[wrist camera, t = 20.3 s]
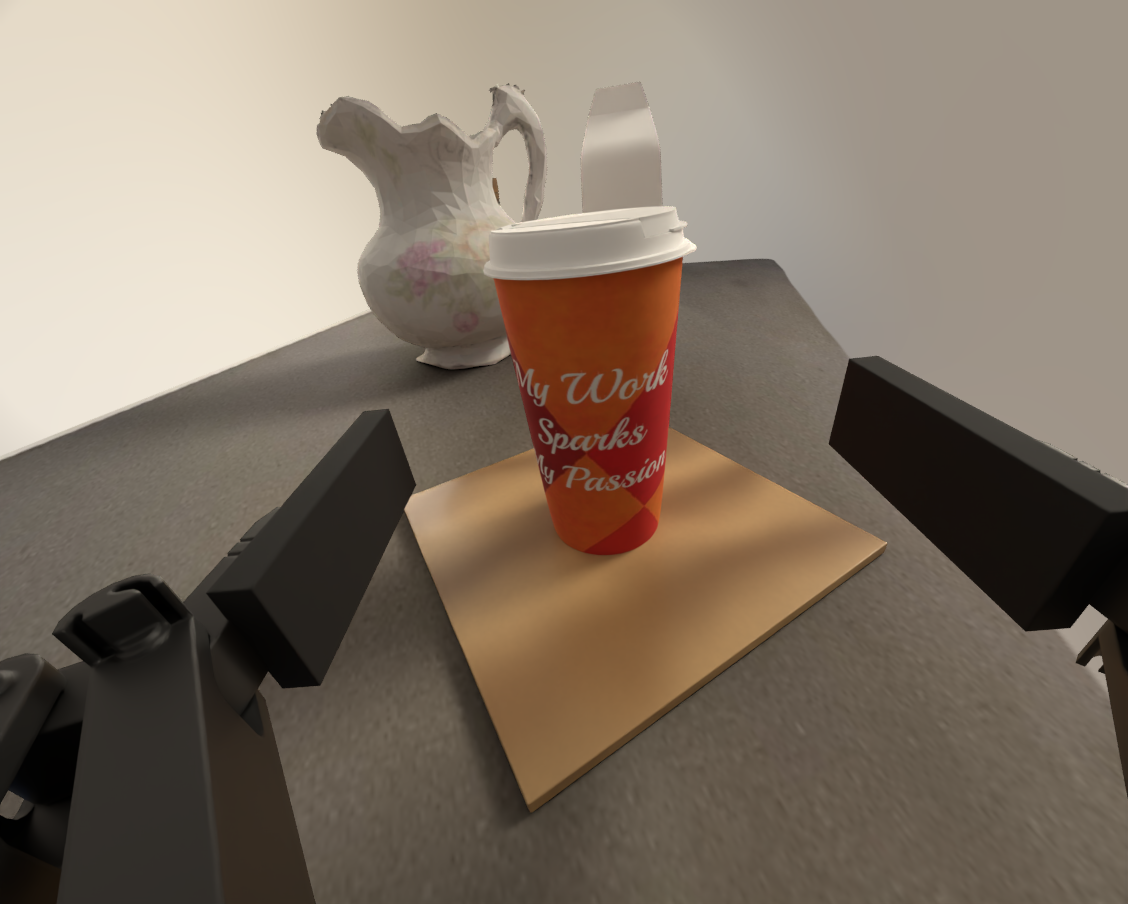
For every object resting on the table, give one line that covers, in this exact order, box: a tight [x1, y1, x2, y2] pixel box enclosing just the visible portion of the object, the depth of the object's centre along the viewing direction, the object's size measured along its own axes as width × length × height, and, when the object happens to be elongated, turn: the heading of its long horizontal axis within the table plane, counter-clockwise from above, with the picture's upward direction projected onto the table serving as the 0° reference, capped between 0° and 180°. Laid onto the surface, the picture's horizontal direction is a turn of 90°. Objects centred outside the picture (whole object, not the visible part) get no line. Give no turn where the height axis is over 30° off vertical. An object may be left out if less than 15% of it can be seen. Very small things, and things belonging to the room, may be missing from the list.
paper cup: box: [483, 206, 697, 555], centre depth 19 cm, size 8×8×14 cm
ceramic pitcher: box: [317, 84, 547, 369], centre depth 46 cm, size 22×20×25 cm
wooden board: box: [404, 427, 887, 813], centre depth 23 cm, size 18×18×1 cm
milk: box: [581, 82, 663, 213], centre depth 64 cm, size 12×12×26 cm
